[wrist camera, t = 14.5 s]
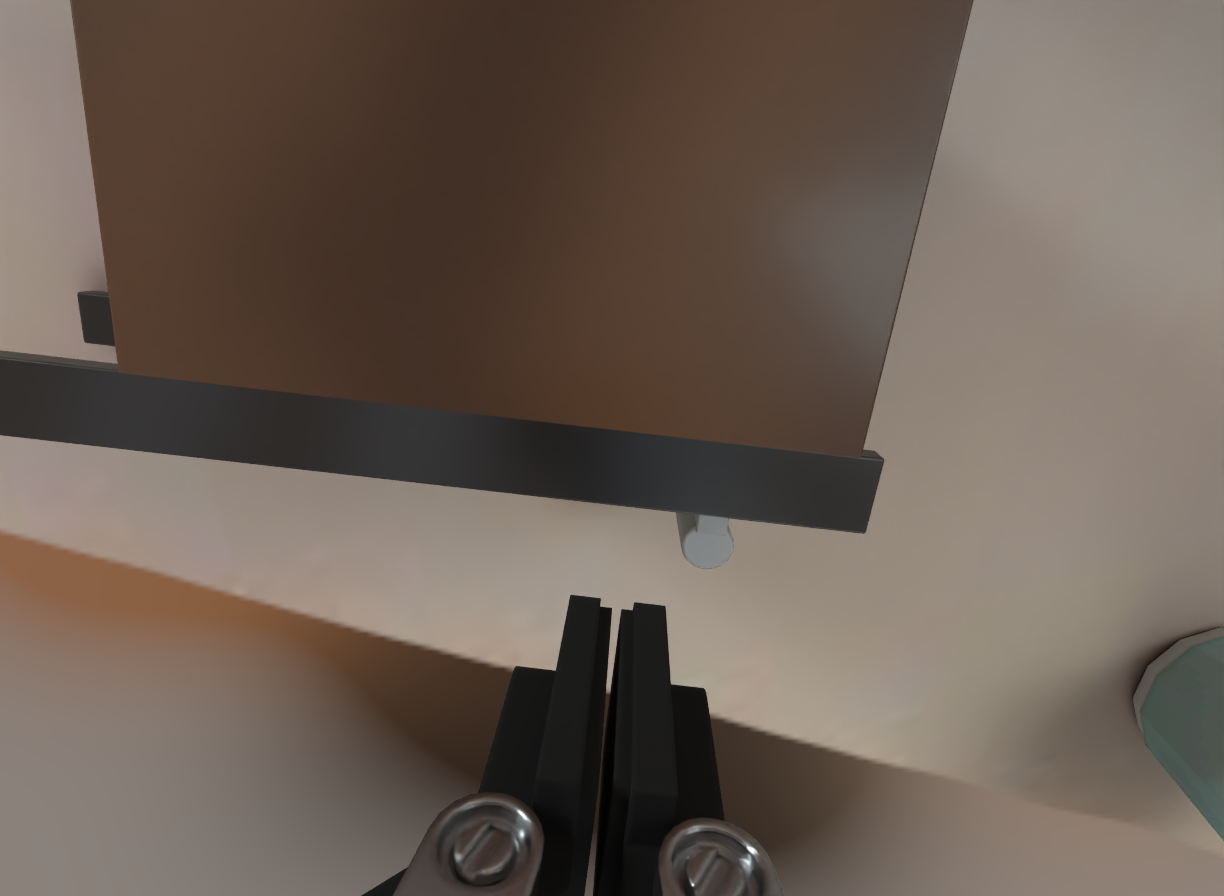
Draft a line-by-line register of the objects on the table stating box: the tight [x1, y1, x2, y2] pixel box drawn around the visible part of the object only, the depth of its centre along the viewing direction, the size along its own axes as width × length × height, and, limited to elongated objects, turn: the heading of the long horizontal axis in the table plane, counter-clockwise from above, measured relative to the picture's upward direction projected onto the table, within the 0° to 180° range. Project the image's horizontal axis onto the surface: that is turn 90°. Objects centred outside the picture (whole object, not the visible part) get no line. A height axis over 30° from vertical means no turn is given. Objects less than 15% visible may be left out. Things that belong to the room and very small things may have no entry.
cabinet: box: [0, 0, 973, 534], centre depth 17 cm, size 25×12×10 cm, turn 84°
